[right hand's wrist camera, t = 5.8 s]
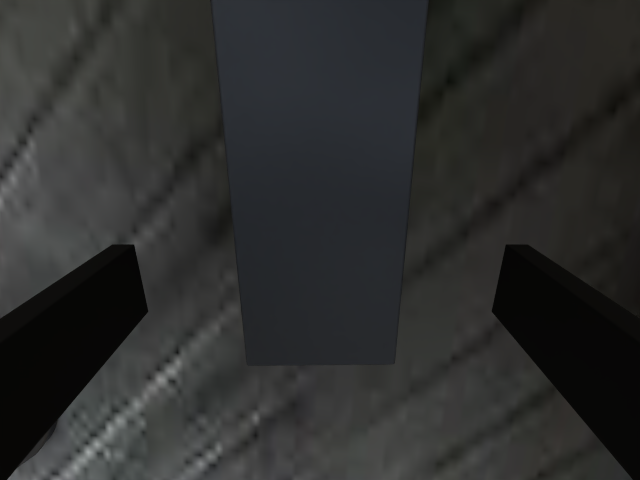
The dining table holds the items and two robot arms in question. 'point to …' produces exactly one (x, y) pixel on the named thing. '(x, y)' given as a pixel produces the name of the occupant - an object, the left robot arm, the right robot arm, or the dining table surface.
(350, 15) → the bar
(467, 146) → the dining table surface
